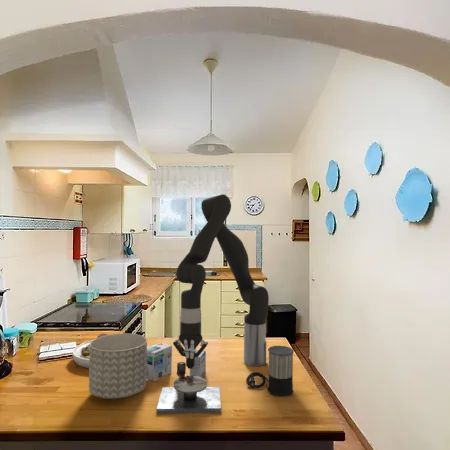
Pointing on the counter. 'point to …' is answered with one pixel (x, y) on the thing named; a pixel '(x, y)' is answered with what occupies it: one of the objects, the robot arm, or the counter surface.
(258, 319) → the robot arm
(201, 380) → the handwheel
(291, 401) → the counter surface
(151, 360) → the light bulb box
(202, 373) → the medicine box
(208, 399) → the base
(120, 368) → the planter
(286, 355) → the milk frother
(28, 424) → the counter surface
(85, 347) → the bowl
